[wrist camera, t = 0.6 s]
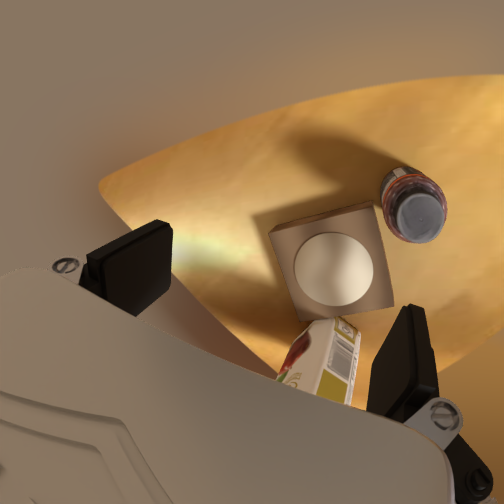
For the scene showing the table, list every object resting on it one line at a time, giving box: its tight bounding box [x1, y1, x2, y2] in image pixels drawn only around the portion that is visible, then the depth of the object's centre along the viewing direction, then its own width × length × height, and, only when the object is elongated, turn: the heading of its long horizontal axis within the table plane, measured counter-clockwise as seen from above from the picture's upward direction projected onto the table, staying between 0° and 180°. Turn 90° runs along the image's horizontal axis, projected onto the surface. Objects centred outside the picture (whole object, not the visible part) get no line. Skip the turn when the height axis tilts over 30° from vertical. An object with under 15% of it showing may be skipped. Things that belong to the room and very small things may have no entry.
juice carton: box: [276, 316, 361, 406], centre depth 32 cm, size 8×9×19 cm
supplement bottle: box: [380, 167, 447, 243], centre depth 25 cm, size 6×6×11 cm
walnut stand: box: [268, 201, 394, 322], centre depth 34 cm, size 12×12×3 cm
